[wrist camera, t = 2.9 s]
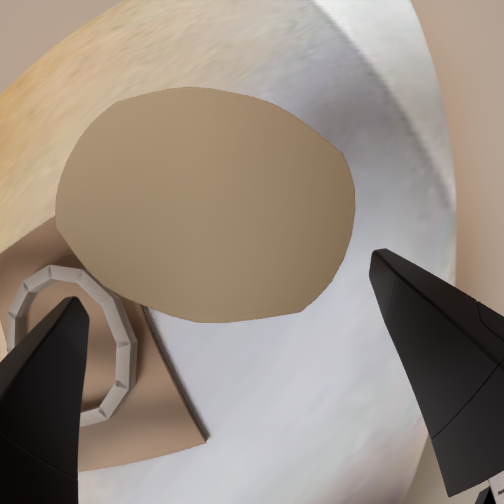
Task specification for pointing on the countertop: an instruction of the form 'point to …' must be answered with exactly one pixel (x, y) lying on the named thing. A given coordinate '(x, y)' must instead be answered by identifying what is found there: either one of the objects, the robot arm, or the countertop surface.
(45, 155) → the countertop surface
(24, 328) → the socket board
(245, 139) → the handle
